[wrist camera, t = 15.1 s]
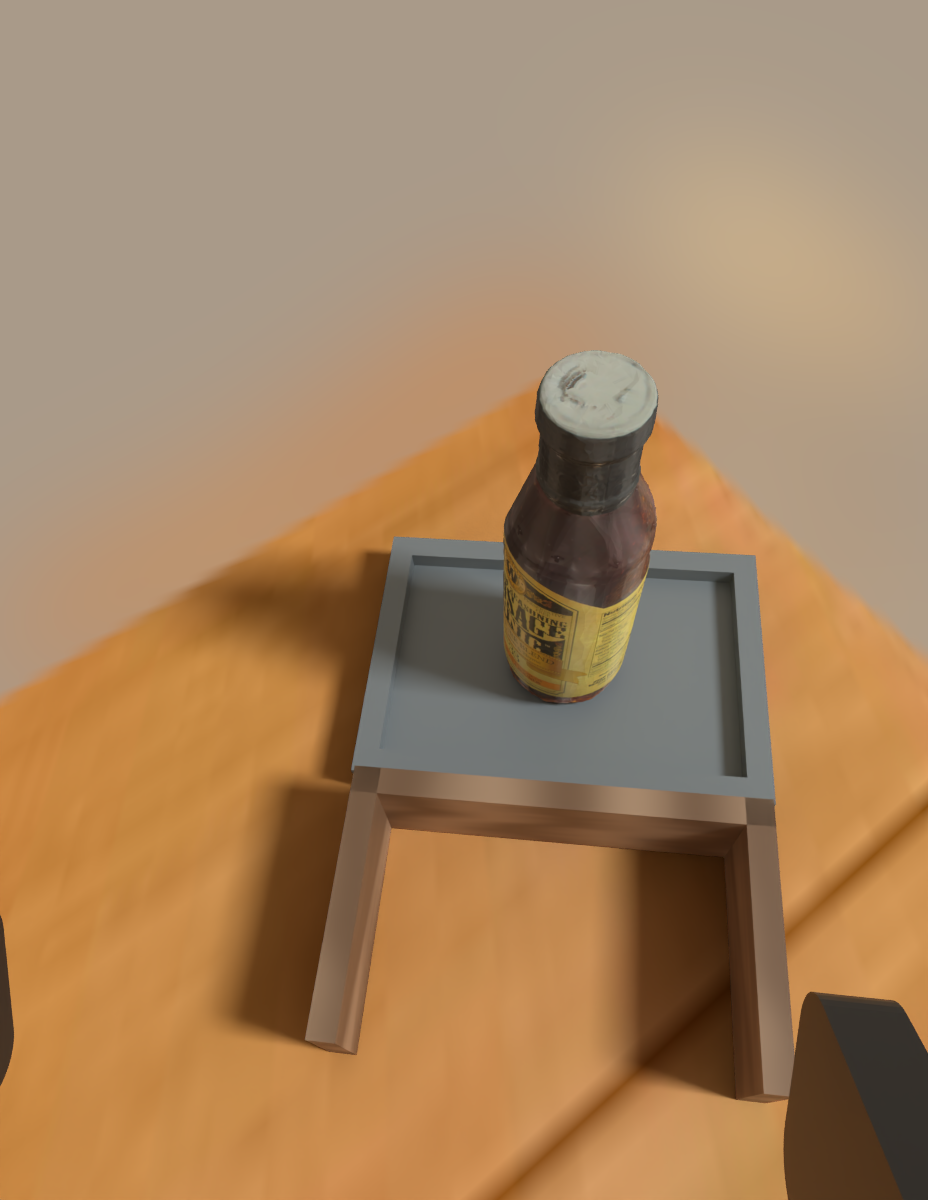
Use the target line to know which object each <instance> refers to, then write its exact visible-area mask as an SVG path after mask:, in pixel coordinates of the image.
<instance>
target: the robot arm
mask: <svg viewBox="0 0 928 1200" xmlns="http://www.w3.org/2000/svg"><path fill="white" fill-rule="evenodd" d="M13 1042H14V1028H13V1018H12V1008H11V998H10V988H9V978H8V968H7V958H6V948H5V937H4V928H3V922H2V918H1V916H0V1086H1V1084H2V1082H3V1079H4V1077H5V1074H6V1072H7V1069H8V1066H9V1063H10V1059H11V1055H12V1050H13ZM784 1170H785V1180H786V1188H787V1195H788V1200H928V1053H927V1051H926V1049H925V1047H924V1045H923V1043H922V1042H921V1040H920V1038H919V1036H918V1034H917V1032H916V1031H915V1029H914V1027H913V1025H912V1023H911V1021H910V1020H909V1018H908V1016H907V1014H906V1012H905V1011H904V1009H903V1008H902V1007H901V1005H900V1004H899V1003H897V1002H896V1001H893V1000H884V999H874V998H864V997H855V996H845V995H835V994H826V993H816V992H810V993H808V994H807V995H806V997H805V999H804V1002H803V1005H802V1009H801V1015H800V1022H799V1029H798V1036H797V1043H796V1050H795V1057H794V1064H793V1072H792V1079H791V1086H790V1093H789V1100H788V1107H787V1114H786V1121H785V1130H784Z"/></svg>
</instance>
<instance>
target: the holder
mask: <svg viewBox="0 0 928 1200" xmlns="http://www.w3.org/2000/svg"><path fill="white" fill-rule="evenodd" d="M391 828H399V829H410V830H421V831H432V832H444V833H455V834H466V835H478V836H489V837H500V838H511V839H523V840H534V841H545V842H556V843H568V844H579V845H590V846H601V847H613V848H624V849H635V850H647V851H658V852H669V853H680V854H692V855H703V856H714V857H724V863H725V884H726V905H727V925H728V946H729V966H730V987H731V1008H732V1028H733V1049H734V1070H735V1090H736V1100H743V1101H752V1102H760V1103H770V1102H775V1101H781V1100H787V1099H789V1093H790V1086H791V1079H792V1072H793V1064H794V1057H795V1055H794V1043H793V1031H792V1018H791V1006H790V994H789V981H788V969H787V957H786V944H785V932H784V919H783V907H782V895H781V882H780V870H779V858H778V845H777V833H776V821H775V808H774V799H761V798H749V797H737V796H724V795H712V794H700V793H688V792H675V791H663V790H651V789H638V788H626V787H614V786H601V785H589V784H577V783H565V782H552V781H540V780H528V779H515V778H503V777H491V776H478V775H466V774H454V773H441V772H429V771H417V770H405V769H392V768H380V767H368V766H355V767H354V773H353V778H352V784H351V789H350V795H349V800H348V805H347V811H346V816H345V822H344V827H343V833H342V838H341V844H340V849H339V855H338V860H337V866H336V871H335V877H334V882H333V888H332V893H331V899H330V904H329V910H328V915H327V921H326V926H325V932H324V937H323V943H322V948H321V954H320V959H319V965H318V970H317V976H316V981H315V986H314V992H313V997H312V1003H311V1008H310V1014H309V1019H308V1025H307V1030H306V1036H305V1040H306V1041H308V1042H310V1043H312V1044H314V1045H316V1046H318V1047H321V1048H323V1049H325V1050H327V1051H329V1052H336V1053H344V1054H353V1055H357V1049H358V1042H359V1036H360V1029H361V1023H362V1016H363V1010H364V1003H365V997H366V990H367V984H368V977H369V970H370V964H371V957H372V951H373V944H374V938H375V931H376V925H377V918H378V912H379V905H380V899H381V892H382V886H383V879H384V873H385V866H386V859H387V853H388V846H389V840H390V833H391Z"/></svg>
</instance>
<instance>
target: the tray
mask: <svg viewBox="0 0 928 1200" xmlns="http://www.w3.org/2000/svg"><path fill="white" fill-rule="evenodd" d="M503 549H504V544H503V542H486V541H467V540H448V539H429V538H410V537H394V540H393V545H392V550H391V556H390V561H389V567H388V572H387V578H386V583H385V588H384V594H383V599H382V605H381V610H380V616H379V621H378V627H377V632H376V637H375V643H374V648H373V654H372V659H371V665H370V670H369V675H368V681H367V686H366V692H365V697H364V703H363V708H362V713H361V719H360V724H359V730H358V735H357V741H356V746H355V751H354V757H353V762H352V768H351V771H352V773H354V767H355V766H368V767H380V768H392V769H405V770H417V771H429V772H441V773H454V774H466V775H478V776H491V777H503V778H515V779H528V780H540V781H552V782H565V783H577V784H589V785H601V786H614V787H626V788H638V789H651V790H663V791H675V792H688V793H700V794H712V795H724V796H737V797H749V798H761V799H774V806H775V805H776V802H775V789H774V777H773V765H772V753H771V741H770V728H769V716H768V704H767V692H766V680H765V667H764V655H763V643H762V631H761V618H760V606H759V594H758V582H757V570H756V557H755V555H736V554H717V553H697V552H678V551H659V550H651V551H650V563H649V568H648V571H647V575H646V579H645V582H644V586H643V589H642V593H641V597H640V600H639V604H638V608H637V611H636V615H635V619H634V623H633V627H632V630H631V634H630V638H629V642H628V645H627V649H626V652H625V656H624V659H623V662H622V665H621V667H620V669H619V671H618V672H617V674H616V675H615V677H614V678H613V679H612V681H611V682H610V683H609V685H608V686H607V687H606V688H604V690H603V691H601V692H600V693H599V694H598V695H596V696H595V697H594V698H592V699H590V700H586V701H584V702H575V703H559V704H556V703H552V702H546V701H543V700H542V699H540V698H539V697H537V696H536V695H533V694H531V693H530V692H529V691H528V690H527V689H525V688H524V687H523V686H522V685H521V684H520V683H519V682H518V681H517V680H516V679H515V678H514V676H513V674H512V671H511V670H510V665H509V663H508V660H507V657H506V653H505V649H504V604H503V590H504V589H503V571H504V553H503Z"/></svg>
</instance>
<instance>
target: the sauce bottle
mask: <svg viewBox="0 0 928 1200" xmlns="http://www.w3.org/2000/svg"><path fill="white" fill-rule="evenodd" d="M657 407H658V391H657V388H656V384H655V382H654V380H653V378H652V377H651V376H650V375H649V374H648V373H647V372H646V371H645V370H644V368H643V367H642V366H641V365H640V364H639V363H637V362H636V361H634V360H633V359H630V358H629V357H626V356H624V355H621V354H618V353H609V352H605V351H598V350H593V351H584V352H580V353H576V354H572V355H569V356H566V357H565V358H563V359H562V360H560V361H558V362H556V363H555V364H554V365H553V366H551V367H550V368H549V369H548V371H547V372H546V374H545V376H544V377H543V379H542V381H541V383H540V386H539V388H538V391H537V400H536V408H535V422H536V424H537V428H538V430H539V432H540V439H539V452H538V457H537V459H536V463H535V465H534V467H533V469H532V470H531V472H530V474H529V476H528V478H527V479H526V481H525V483H524V485H523V487H522V489H521V490H520V492H519V494H518V496H517V498H516V500H515V501H514V503H513V505H512V507H511V509H510V510H509V512H508V514H507V516H506V519H505V523H504V540H503V544H504V549H503V553H504V571H503V589H504V590H503V604H504V649H505V653H506V657H507V660H508V663H509V665H510V670H511V671H512V674H513V676H514V678H515V679H516V680H517V681H518V682H519V683H520V684H521V685H522V686H523V687H524V688H525V689H527V690H528V691H529V692H530V693H531V694H533V695H536V696H537V697H539V698H540V699H542V700H543V701H546V702H552V703H556V704H559V703H575V702H584V701H586V700H590V699H592V698H594V697H595V696H596V695H598V694H599V693H600V692H601V691H603V690H604V688H606V687H607V686H608V685H609V683H610V682H611V681H612V679H613V678H614V677H615V675H616V674H617V672H618V671H619V669H620V667H621V665H622V662H623V659H624V656H625V652H626V649H627V645H628V642H629V638H630V634H631V630H632V627H633V623H634V619H635V615H636V611H637V608H638V604H639V600H640V597H641V593H642V589H643V586H644V582H645V579H646V575H647V571H648V568H649V563H650V551H651V548H652V544H653V541H654V537H655V531H656V525H657V524H656V521H657V518H656V507H655V505H654V499H653V496H652V494H651V492H650V489H649V486H648V484H647V483H646V481H645V480H644V478H643V476H642V474H641V466H640V459H641V455H642V450H643V445H644V444H645V442H646V441H647V440H648V438H649V437H650V435H651V433H652V430H653V427H654V423H655V419H656V412H657Z"/></svg>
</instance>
